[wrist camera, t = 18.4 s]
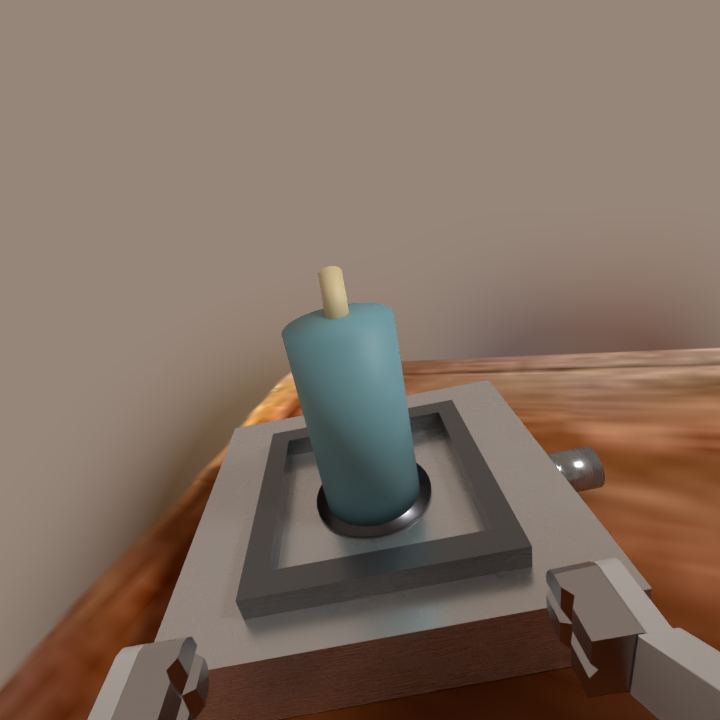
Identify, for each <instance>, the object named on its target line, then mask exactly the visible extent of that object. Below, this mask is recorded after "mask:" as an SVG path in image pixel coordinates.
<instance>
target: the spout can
mask: <svg viewBox="0 0 720 720" xmlns="http://www.w3.org/2000/svg"><path fill="white" fill-rule="evenodd" d="M318 275H319V281H320V288H321V294H322V300H323V307H324V309H321V310H317V311H314V312H311V313H309V314H306V315H304V316H301V317H299V318H297V319H296V320H294V321H292V322H291V323H289V324H288V325H287V326H286V327H285V328H284V329H283V331H282V337H283V341H284V345H285V349H286V352H287V356H288V360H289V363H290V367H291V371H292V374H293V378H294V382H295V386H296V389H297V393H298V397H299V400H300V404H301V408H302V411H303V415H304V419H305V423H306V426H307V430H308V434H309V437H310V441H311V445H312V448H313V452H314V456H315V460H316V463H317V467H318V471H319V474H320V478H321V482H322V485H323V489H324V493H325V497H326V500H327V504H328V507H329V509H330V511H331V512H332V514H333V515H334V516H335V517H336V518H338V519H339V520H341V521H343V522H345V523H348V524H351V525H356V526H376V525H381V524H385V523H388V522H391V521H393V520H395V519H397V518H399V517H400V516H402V515H403V514H405V513H406V512H407V511H408V510H409V509H410V508H411V507H412V506H413V505H414V503H415V502H416V500H417V498H418V495H419V491H420V485H419V478H418V472H417V465H416V458H415V452H414V445H413V439H412V432H411V426H410V419H409V412H408V406H407V399H406V393H405V386H404V380H403V373H402V366H401V360H400V353H399V347H398V341H397V334H396V327H395V320H394V314H393V310H392V309H391V308H390V307H388V306H386V305H382V304H376V303H352V304H348V303H347V297H346V291H345V286H344V281H343V275H342V270H341V269H340V268H339V267H336V266H328V267H325V268H323V269H321V270H320V271H319V273H318Z"/></svg>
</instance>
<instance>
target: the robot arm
mask: <svg viewBox="0 0 720 720" xmlns="http://www.w3.org/2000/svg"><path fill="white" fill-rule="evenodd" d="M546 582H547V584H548V586H549V588H550V591H549V592H548V593H547V594H546V604H547V609H548V613H549V617H550V620H551V623H552V625H553V628H554V630H555V632H556V634H557V636H558V638H559V640H560V642H561V643H563V644H564V645H565V646H567V647H568V648H569V649H571V665H572V667H573V669H574V671H575V673H576V675H577V677H578V679H579V681H580V683H581V685H582V687H583V689H584V690H585V692H586V694H587V696H588V698H590V697H597V696H604V695H611V694H618V693H624V692H630V694H631V695H632V696H633V697H634V698H635V699H636V700H637V701H638V702H640V703H641V704H642V705H643V706H644V707H645V708H646V709H648V710H649V711H650V712H651V713H652V714H653V715H654V716H656V717H657V718H658V719H659V720H720V652H719V651H718V650H716V649H714V648H713V647H711V646H709V645H708V644H706V643H704V642H703V641H701V640H699V639H698V638H696V637H695V636H693V635H691V634H690V633H688V632H686V631H685V630H683V629H681V628H673V629H672V627H671V626H670V625H669V623H668V622H667V621H666V619H665V618H664V617H663V616H662V614H661V613H660V612H659V610H658V609H657V608H656V606H655V605H654V604H653V603H652V601H651V600H650V599H649V597H648V596H647V595H646V593H645V592H644V591H643V590H642V588H641V587H640V586H639V584H638V583H637V582H636V580H635V579H634V578H633V577H632V575H631V574H630V573H629V571H628V570H627V569H626V567H625V566H624V565H623V564H622V562H621V561H620V560H618V559H617V558H608V559H603V560H599V561H594V562H590V561H589V562H584V563H579V564H574V565H570V566H565V567H560V568H555V569H550V570H548V571H547V573H546ZM196 648H197V644H196V642H195V641H194V639H193V637H192V636H191V637H185V638H179V639H173V640H167V641H161V642H155V643H149V644H142V645H136V646H131V647H125V648H123V649H122V650H121V651H120V652H119V653H118V655H117V656H116V657H115V659H114V662H113V664H112V666H111V668H110V670H109V673H108V675H107V677H106V679H105V681H104V684H103V686H102V688H101V690H100V692H99V695H98V697H97V699H96V701H95V703H94V706H93V708H92V710H91V712H90V715H89V717H88V719H87V720H195V719H196V718H197V716H198V715H199V714H200V712H201V711H202V710H203V708H204V707H205V705H206V701H207V696H208V691H209V670H208V665H207V663H206V661H205V659H204V657H202V656H200V655H198V654H196V653H195V652H196Z"/></svg>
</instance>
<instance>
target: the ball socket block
mask: <svg viewBox="0 0 720 720" xmlns="http://www.w3.org/2000/svg"><path fill="white" fill-rule="evenodd" d="M406 399H407V406H408V412H409V419H410V426H411V432H412V439H413V445H414V452H415V458H416V465H417V472H418V478H419V485H420V491H419V495H418V498H417V500H416V502H415V503H414V505H413V506H412V507H411V508H410V509H409V510H408V511H407V512H406V513H405V514H403V515H402V516H400V517H399V518H397V519H395V520H393V521H391V522H388V523H385V524H381V525H376V526H356V525H351V524H348V523H345V522H343V521H341V520H339V519H338V518H336V517H335V516H334V515H333V514H332V512H331V511H330V509H329V507H328V504H327V500H326V497H325V493H324V489H323V485H322V482H321V478H320V474H319V471H318V467H317V463H316V460H315V456H314V452H313V448H312V445H311V441H310V437H309V434H308V430H307V426H306V423H305V419H304V415H303V416H298V417H293V418H288V419H282V420H277V421H272V422H267V423H261V424H256V425H251V426H246V427H240V428H236V429H235V431H234V434H233V436H232V439H231V441H230V444H229V447H228V449H227V452H226V454H225V457H224V460H223V462H222V465H221V468H220V470H219V473H218V475H217V478H216V481H215V483H214V486H213V489H212V491H211V494H210V497H209V499H208V502H207V504H206V507H205V510H204V512H203V515H202V518H201V520H200V523H199V525H198V528H197V531H196V533H195V536H194V539H193V541H192V544H191V547H190V549H189V552H188V554H187V557H186V560H185V562H184V565H183V568H182V570H181V573H180V575H179V578H178V581H177V583H176V586H175V589H174V591H173V594H172V597H171V599H170V602H169V604H168V607H167V610H166V612H165V615H164V618H163V620H162V623H161V625H160V628H159V631H158V633H157V636H156V639H155V641H154V643H155V642H161V641H167V640H173V639H179V638H185V637H191V636H192V637H193V639H194V641H195V642H196V644H197V648H196V652H195V653H196V654H198V655H200V656H202V657H204V659H205V661H206V663H207V665H208V670H209V691H208V696H207V701H206V705H205V707H204V708H203V710H202V711H201V712H200V714H199V715H198V716H197V718H196V719H195V720H280V719H285V718H291V717H296V716H302V715H307V714H313V713H318V712H324V711H329V710H335V709H340V708H346V707H351V706H357V705H362V704H368V703H373V702H379V701H384V700H390V699H395V698H401V697H406V696H412V695H417V694H423V693H428V692H434V691H439V690H445V689H450V688H456V687H461V686H467V685H472V684H478V683H483V682H489V681H494V680H500V679H505V678H511V677H516V676H522V675H527V674H533V673H538V672H544V671H549V670H555V669H560V668H566V667H571V666H572V665H571V649H569V648H568V647H567V646H565V645H564V644H563V643H561V642H560V640H559V638H558V636H557V634H556V632H555V630H554V628H553V625H552V623H551V620H550V617H549V613H548V609H547V604H546V594H547V593H548V592H549V591H550V588H549V586H548V584H547V582H546V573H547V571H548V570H550V569H555V568H560V567H565V566H570V565H574V564H579V563H584V562H589V561H590V562H594V561H599V560H603V559H608V558H617V559H618V560H620V561H621V562H622V564H623V565H624V566H625V567H626V569H627V570H628V571H629V573H630V574H631V575H632V577H633V578H634V579H635V580H636V582H637V583H638V584H639V586H640V587H641V588H642V590H643V591H644V592H645V593H646V595H647V596H648V597H649V599H651V592H652V588H651V587H650V585H649V584H648V583H647V582H646V580H645V579H644V578H643V576H642V575H641V574H640V573H639V571H638V570H637V569H636V567H635V566H634V565H633V564H632V562H631V561H630V560H629V559H628V557H627V556H626V555H625V553H624V552H623V551H622V550H621V548H620V547H619V546H618V544H617V543H616V542H615V541H614V539H613V538H612V537H611V536H610V534H609V533H608V532H607V530H606V529H605V528H604V527H603V525H602V524H601V523H600V521H599V520H598V519H597V518H596V516H595V515H594V514H593V513H592V511H591V510H590V509H589V507H588V506H587V505H586V504H585V502H584V501H583V500H582V499H581V497H580V496H579V495H578V493H577V492H579V491H584V490H590V489H595V488H600V487H602V486H603V485H604V481H605V475H604V470H603V466H602V464H601V461H600V459H599V457H598V456H597V454H596V453H595V452H594V450H593V449H591V448H590V447H581V448H576V449H571V450H565V451H560V452H555V453H550V454H546V453H545V451H544V450H543V449H542V447H541V446H540V445H539V444H538V442H537V441H536V440H535V438H534V437H533V436H532V435H531V433H530V432H529V431H528V430H527V428H526V427H525V426H524V424H523V423H522V422H521V421H520V419H519V418H518V417H517V416H516V414H515V413H514V412H513V410H512V409H511V408H510V407H509V405H508V404H507V403H506V401H505V400H504V399H503V398H502V396H501V395H500V394H499V393H498V391H497V390H496V389H495V387H494V386H493V385H492V384H491V382H490V381H489V380H487V381H481V382H476V383H471V384H466V385H460V386H455V387H450V388H445V389H439V390H434V391H429V392H424V393H418V394H413V395H408V396H406Z"/></svg>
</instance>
